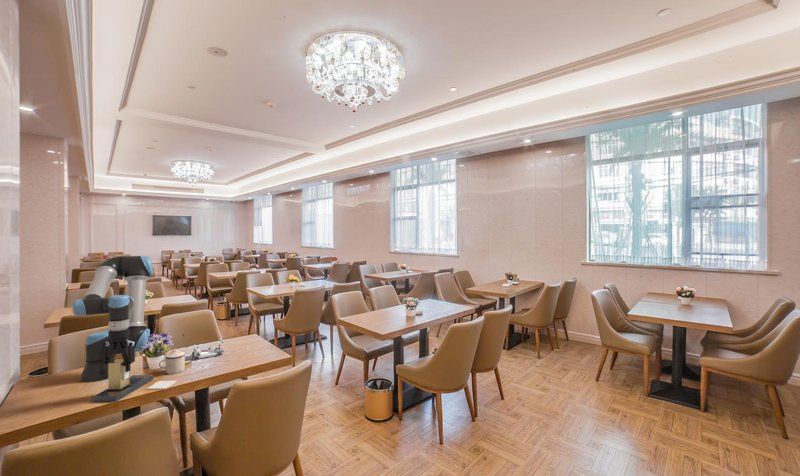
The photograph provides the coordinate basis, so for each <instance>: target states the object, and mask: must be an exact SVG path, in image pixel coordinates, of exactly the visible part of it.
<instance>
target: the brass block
mask: <svg viewBox="0 0 800 476" xmlns="http://www.w3.org/2000/svg"><path fill="white" fill-rule="evenodd" d="M123 365H125V364H124V360H123V358H117V359H115V360H114V361H112V362H110V363H108V378H107V379H108V381H107V384H108V388H107V389H122V388H124V387H125V386H127V385H129V378H127V379H125V380H123Z"/></svg>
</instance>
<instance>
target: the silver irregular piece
mask: <svg viewBox="0 0 800 476" xmlns="http://www.w3.org/2000/svg"><path fill="white" fill-rule="evenodd" d="M224 339H225V337H224V338H221V337H219V340H218V342H217V344H218V347H215V348H214V349H212V347H208V349H204V350H203V349H202V350H201V349H200V347H199V346H197V345H196V344H194V345H193V351H192V352H191V356H193V355H194V356H193V358H192V360H193V361H198V360H200V359H205V358H209V357H210V358H211V357H217V356H220V355H223V353H224V352H225V350H224V349H223V347H221V345H222V344H224V343H225V342H226V341H225V340H224Z"/></svg>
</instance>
